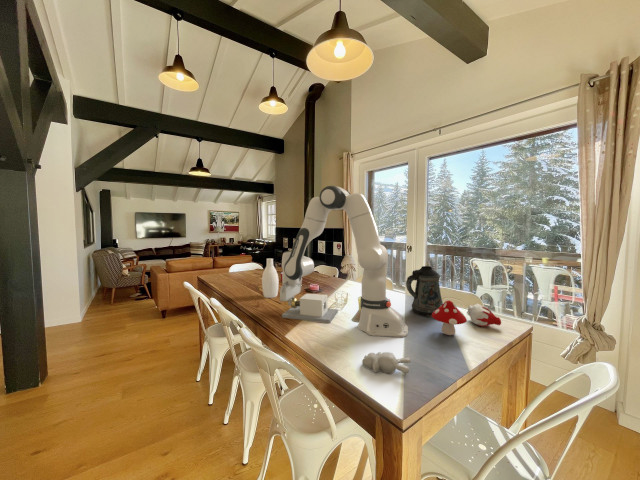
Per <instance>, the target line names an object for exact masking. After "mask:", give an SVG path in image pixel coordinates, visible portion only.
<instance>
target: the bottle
mask: <svg viewBox="0 0 640 480" xmlns="http://www.w3.org/2000/svg"><path fill="white" fill-rule="evenodd" d="M264 268H265V269H264V270H263V273H262V277H261V286H262V287H261V288H262V295H263V297H264V299H265V298H266V299H273V298H277V297H278V294H279V293H278V292H279V274H278V272H277V269H276V267H275V266H274V258H266V266H265V267H264Z"/></svg>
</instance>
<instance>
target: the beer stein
mask: <svg viewBox="0 0 640 480" xmlns="http://www.w3.org/2000/svg"><path fill="white" fill-rule="evenodd" d="M440 279H441V275H440V273H439V272H437V271H436V270H434V269H433V267H432V266H430V265H429V266H428V265H423V266H421V268H419V269H415V270H412V274H411V275H409V276H407V278H406V282H405V286H406V287H405V288H406V289H407V291H408V293H409V294H410V295H411V296H412V297H413V300H412V304H411V309H412V311H413V313H414V314H416V315H418V316H420V317H421V316H422V317H426V318H433V317H432V313H433V312H434V311H435V310H437V309H438V308H439V307H440V306H441V305H442V304H443V303H444V302H443V298H442V295H441V288H440V282H439V281H440ZM413 281H416V283H415V289H413V288H412V283H413Z"/></svg>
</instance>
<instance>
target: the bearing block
mask: <svg viewBox="0 0 640 480" xmlns="http://www.w3.org/2000/svg"><path fill="white" fill-rule="evenodd" d="M299 301H300V307H299V306H297V308H292V307H291V306H290V308H288V310H286V311H284V312H283V313H282V314H281V318H282V319H292V320H301V321H310V322H317V323H326V324H331V322H332V321H333V320H334V318H335V316H336V315H337V314H338V312H339V310H338V308H337V309H336V308H328V294H318V293H307V292H306V293H305V294H304V295H303V296H301V297H300V298H299ZM324 303H325V308H324Z"/></svg>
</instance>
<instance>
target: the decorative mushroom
mask: <svg viewBox="0 0 640 480" xmlns="http://www.w3.org/2000/svg"><path fill="white" fill-rule="evenodd" d="M431 318H432V319H434V320H435V321H438V322H440V323H442V325H441V332H442V333H443V334H444V335H446V336H453V335H455V334H456V327H455V325H462V324H465V323H467V321H468V320H467V318H466V316H465V315H464V312H462V311H461V310H459V308H457V306H456V304H455V303H454V302H453V301H451V300H445V301H444V302H443V304H442V305H441V306H440V307H439V308H438V309H437V310H435V311H434V312H433V313H432V317H431Z"/></svg>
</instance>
